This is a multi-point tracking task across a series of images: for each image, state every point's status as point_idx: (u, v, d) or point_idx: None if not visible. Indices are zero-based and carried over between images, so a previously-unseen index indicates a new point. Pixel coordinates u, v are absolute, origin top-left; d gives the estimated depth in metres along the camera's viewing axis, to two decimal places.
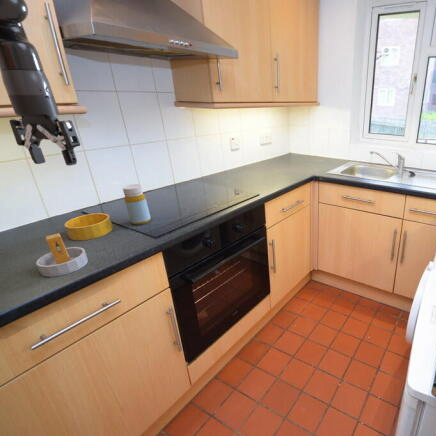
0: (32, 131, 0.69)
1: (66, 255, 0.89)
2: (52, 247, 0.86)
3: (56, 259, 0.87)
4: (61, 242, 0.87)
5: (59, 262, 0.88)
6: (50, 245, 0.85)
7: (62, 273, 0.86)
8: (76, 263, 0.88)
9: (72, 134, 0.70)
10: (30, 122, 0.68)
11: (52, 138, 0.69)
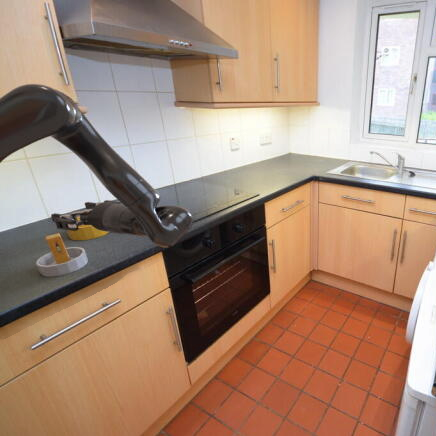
0: None
1: (66, 255, 0.89)
2: (52, 247, 0.86)
3: (56, 259, 0.87)
4: (61, 242, 0.87)
5: (59, 262, 0.88)
6: (50, 245, 0.85)
7: (62, 273, 0.86)
8: (76, 263, 0.88)
9: (63, 225, 0.72)
10: None
11: (74, 212, 0.75)
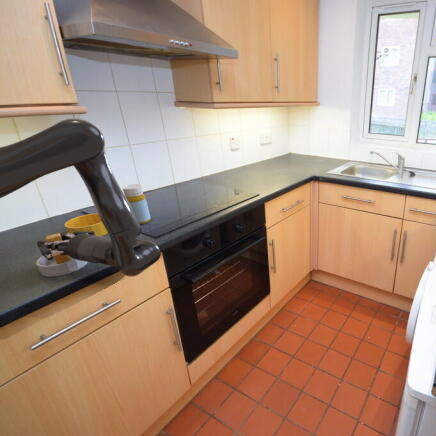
0: (73, 237, 0.86)
1: (66, 255, 0.89)
2: (52, 247, 0.86)
3: (56, 259, 0.87)
4: None
5: (59, 262, 0.88)
6: None
7: (62, 273, 0.86)
8: (76, 263, 0.88)
9: (43, 253, 0.81)
10: None
11: (54, 242, 0.83)
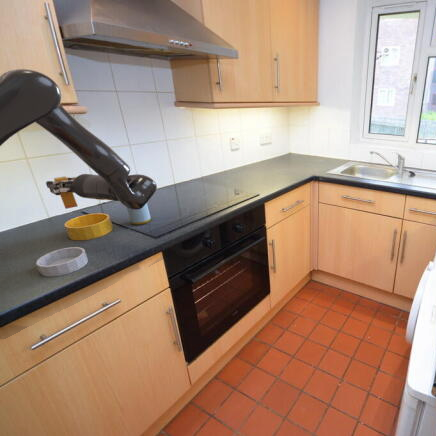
0: None
1: (72, 196, 0.97)
2: (60, 187, 0.94)
3: (63, 199, 0.95)
4: None
5: (66, 202, 0.96)
6: None
7: (62, 273, 0.86)
8: (76, 263, 0.88)
9: (51, 190, 0.89)
10: None
11: (62, 181, 0.92)
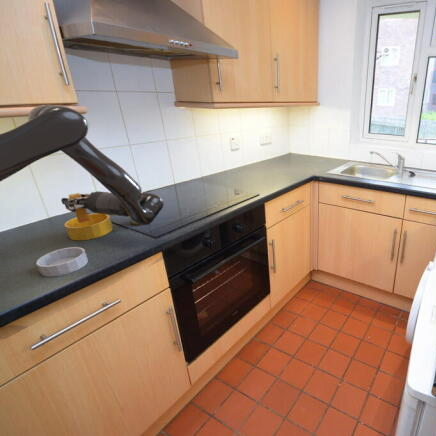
0: None
1: (85, 211, 1.05)
2: (74, 203, 1.02)
3: (77, 214, 1.04)
4: None
5: (79, 217, 1.04)
6: None
7: (62, 273, 0.86)
8: (76, 263, 0.88)
9: (67, 206, 0.97)
10: None
11: (76, 198, 1.00)
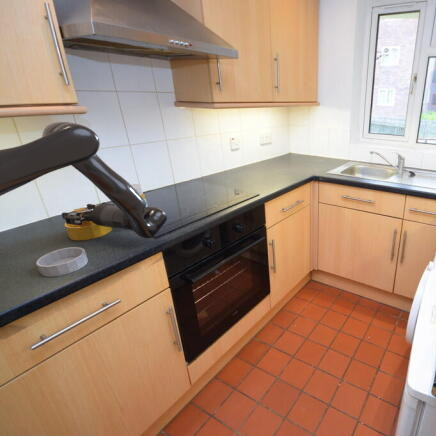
0: None
1: None
2: None
3: None
4: None
5: None
6: None
7: (62, 273, 0.86)
8: (76, 263, 0.88)
9: (71, 221, 0.98)
10: None
11: (78, 212, 1.00)
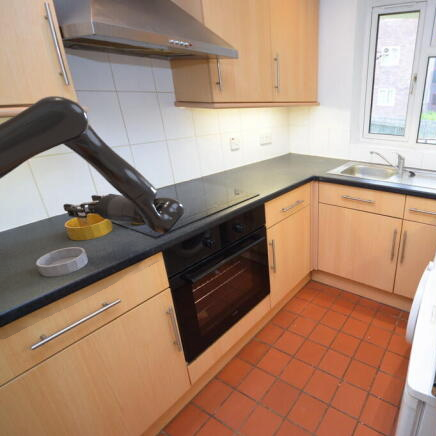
0: None
1: None
2: (79, 218, 1.04)
3: None
4: None
5: None
6: None
7: (62, 273, 0.86)
8: (76, 263, 0.88)
9: (74, 213, 0.85)
10: None
11: (83, 203, 0.88)
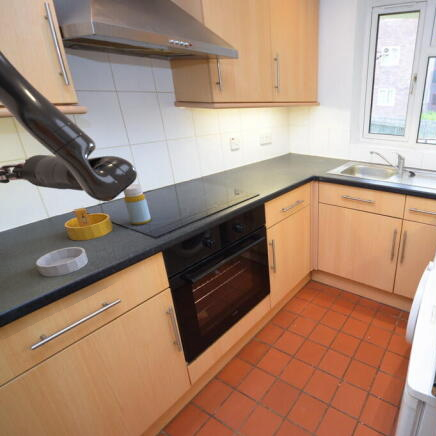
0: None
1: None
2: (79, 218, 1.04)
3: None
4: (86, 214, 1.05)
5: None
6: (77, 216, 1.04)
7: (62, 273, 0.86)
8: (76, 263, 0.88)
9: None
10: None
11: (6, 165, 0.68)
